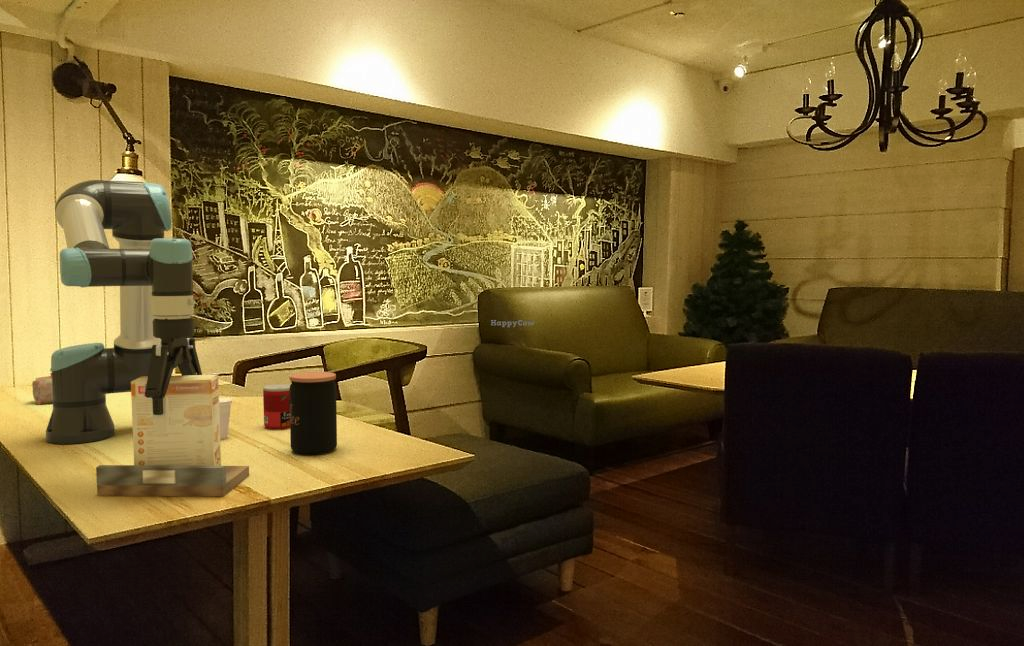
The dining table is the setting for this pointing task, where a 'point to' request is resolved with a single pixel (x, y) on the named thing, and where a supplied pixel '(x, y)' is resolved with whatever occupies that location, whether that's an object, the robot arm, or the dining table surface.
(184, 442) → the coffeecake box
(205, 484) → the shelf board
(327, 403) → the coffee jar
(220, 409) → the smoothie
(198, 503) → the dining table surface
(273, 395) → the canned food
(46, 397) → the food item
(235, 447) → the dining table surface
